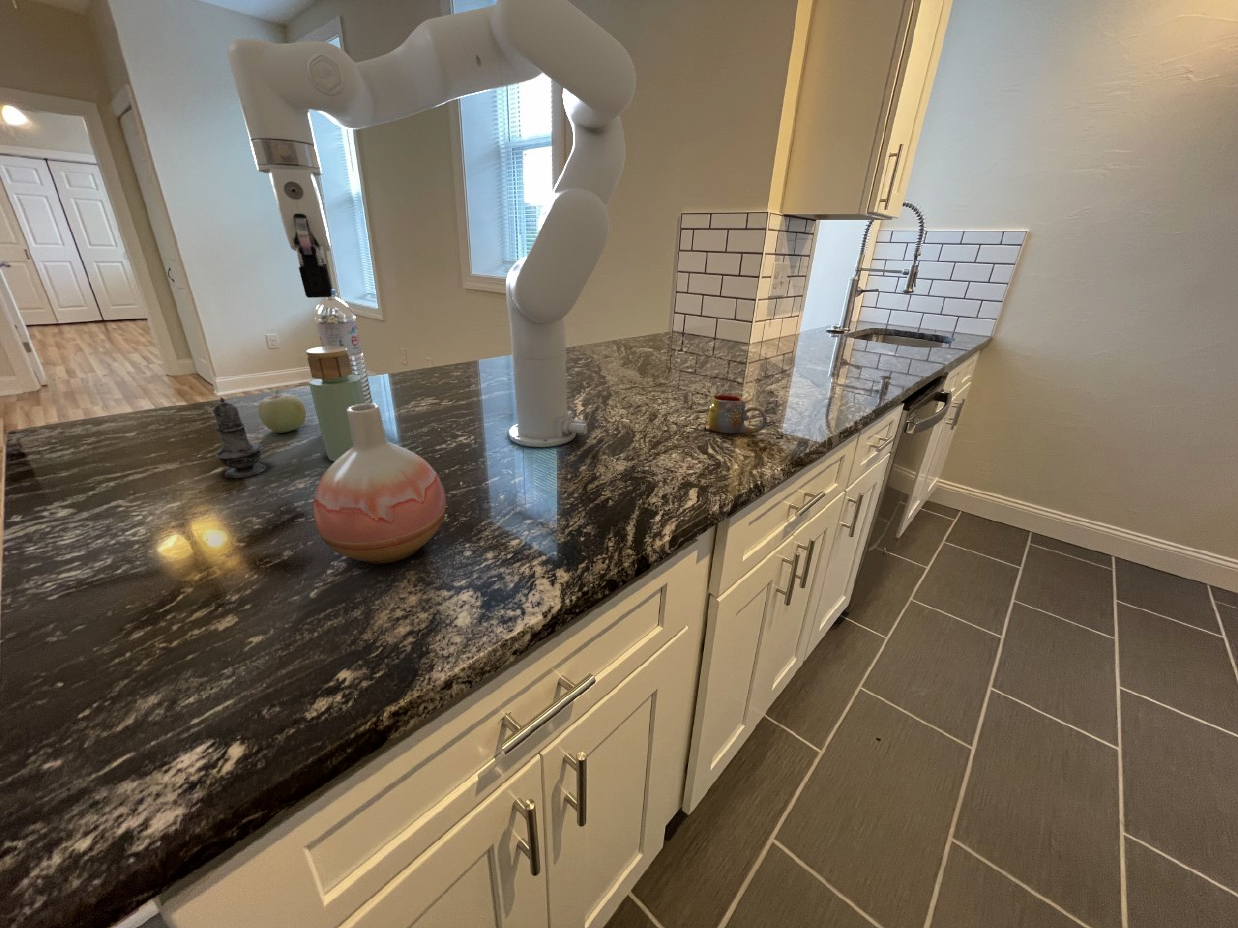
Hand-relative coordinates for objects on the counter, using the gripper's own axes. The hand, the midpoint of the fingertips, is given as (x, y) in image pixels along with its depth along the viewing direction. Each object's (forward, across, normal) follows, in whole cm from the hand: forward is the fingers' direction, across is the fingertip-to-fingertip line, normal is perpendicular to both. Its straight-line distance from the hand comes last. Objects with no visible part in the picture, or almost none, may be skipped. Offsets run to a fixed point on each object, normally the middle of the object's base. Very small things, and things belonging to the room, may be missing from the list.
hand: (320, 294), depth 72 cm
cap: (+12, 0, +1) cm, 12 cm away
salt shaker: (+26, -1, +16) cm, 30 cm away
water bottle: (+26, +20, 0) cm, 33 cm away
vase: (+26, -33, -2) cm, 43 cm away
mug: (+27, -20, -67) cm, 75 cm away
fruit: (+26, +18, +12) cm, 33 cm away
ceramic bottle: (+26, 0, +1) cm, 26 cm away
